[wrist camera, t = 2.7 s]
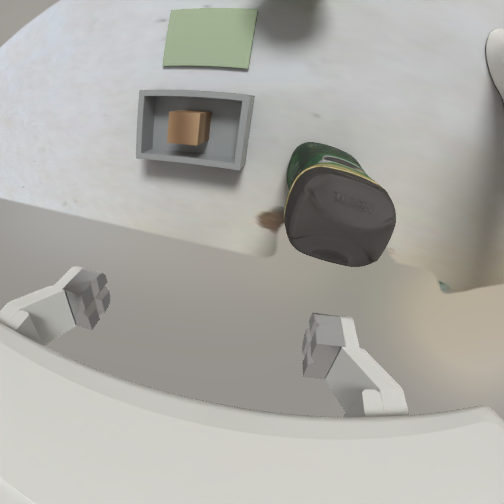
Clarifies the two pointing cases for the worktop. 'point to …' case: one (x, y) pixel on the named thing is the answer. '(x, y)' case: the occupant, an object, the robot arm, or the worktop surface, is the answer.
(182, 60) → the olive mat
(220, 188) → the worktop surface
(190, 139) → the walnut block
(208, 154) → the grey bin
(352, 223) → the coffee jar
